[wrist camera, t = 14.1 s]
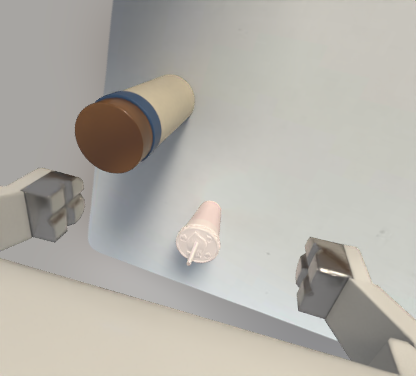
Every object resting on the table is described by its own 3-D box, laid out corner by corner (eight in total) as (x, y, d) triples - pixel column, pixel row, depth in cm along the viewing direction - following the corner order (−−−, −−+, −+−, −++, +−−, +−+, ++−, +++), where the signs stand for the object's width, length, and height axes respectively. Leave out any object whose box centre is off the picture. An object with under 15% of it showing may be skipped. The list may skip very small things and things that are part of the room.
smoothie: (228, 194, 47) (211, 249, 35) (230, 226, 50) (215, 288, 38) (190, 193, 49) (161, 245, 37) (194, 225, 52) (169, 283, 39)
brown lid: (76, 122, 29) (60, 129, 27) (121, 82, 26) (107, 86, 24) (120, 174, 30) (108, 185, 28) (166, 142, 28) (157, 151, 26)
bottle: (139, 92, 42) (73, 121, 29) (175, 62, 40) (120, 78, 26) (168, 132, 44) (120, 176, 31) (205, 106, 41) (169, 142, 28)
